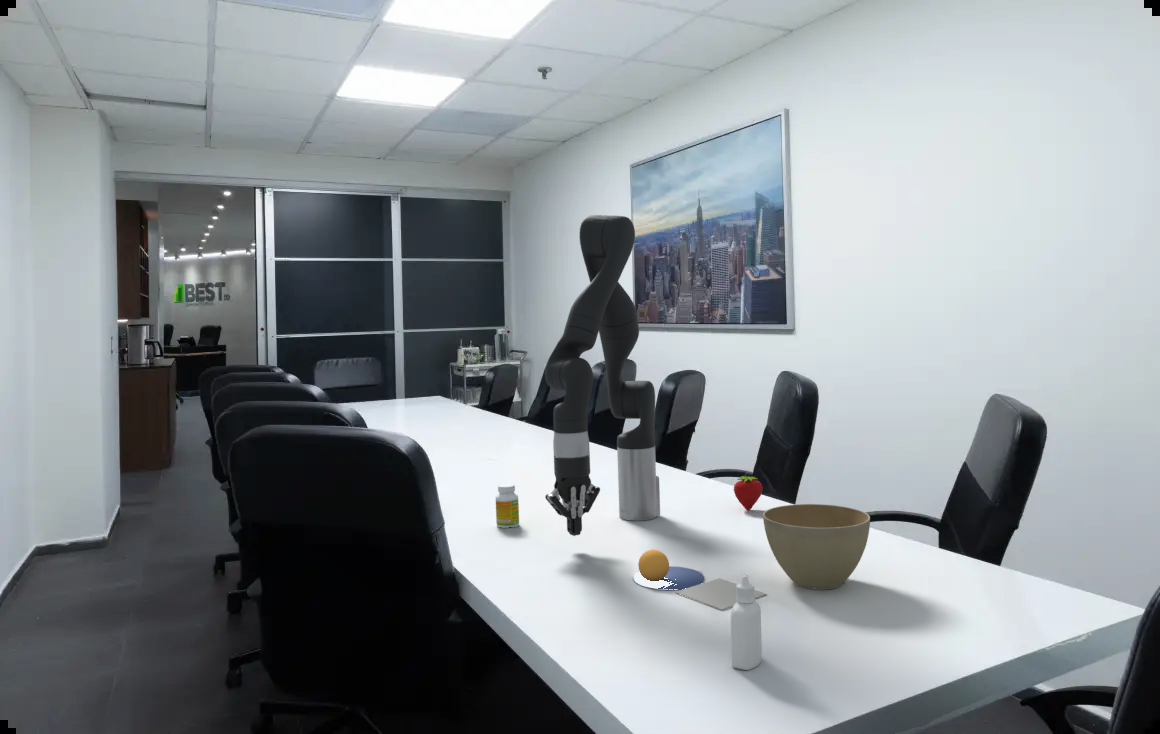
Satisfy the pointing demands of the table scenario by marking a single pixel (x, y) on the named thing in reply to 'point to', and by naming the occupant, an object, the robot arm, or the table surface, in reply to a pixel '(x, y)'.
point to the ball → (653, 565)
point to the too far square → (715, 593)
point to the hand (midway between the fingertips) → (574, 534)
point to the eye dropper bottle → (746, 628)
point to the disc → (682, 578)
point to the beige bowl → (817, 542)
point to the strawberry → (748, 491)
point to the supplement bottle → (507, 506)
